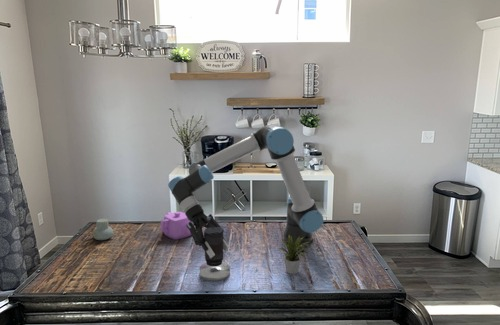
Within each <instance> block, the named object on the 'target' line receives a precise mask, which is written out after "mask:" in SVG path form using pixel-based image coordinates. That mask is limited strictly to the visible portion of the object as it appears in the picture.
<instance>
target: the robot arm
mask: <svg viewBox="0 0 500 325" xmlns="http://www.w3.org/2000/svg"><path fill="white" fill-rule="evenodd" d="M294 143H295V142H294V136H293V134H292V133H291V131H290V130H289V129H287V128H286V127H283V126H280V125H278V124H275V123H274V124H273V123H271V124H270V123H269V124H266V125H264V126H262V127H261V128H258V129H257V130H255V131H253V132H251V133H250V135H249V136H248V137H246V138H244V139H242V140H239V141H238V142H236V143H233V144H231V145H230V146H227V147H226V148H224V149H221V150H220V151H218V152H215V153H214V154H211V155H210V156H208V157H206V158H204V159H202V160H200V161H195V162H192V163H191V164H190V165H189V166H188V173H189V174H188V175H187V176H185V177H183V176H182V175H181V176H180V175H179V176H175V177H173V178H172V179H170V181H168V188H169V190H170V192H171V194H172V196H173V197H174V198H175V201H176V202H177V203H178V205H179V206H180V208H181V210H182V211H183V213H185V215H186V216H187V218H188V220H190V221H191V222H189V223H188V224H187V228H188V229H189V230H190V233H191V237H192V240H193V242H194V244H195V246H199V247H201V248H202V249H203V251H204V252H205V251H206V252H207V254H208V255H209V257H210V258H212V257H213V256H214V255H215V254H214V252H213V251H212V249H211V247H210V246H209V244H208V243H207V241H206V242H205V240H204V231H203V228H205V229H207V228H209V227H220V228H222V226H220V224H219V223H218V222H217V220H216V219H215V218H214V216H213V215H212V214H211V213H209V214H205V212H204V209H203V207H202V206H201V204H199V203H200V202H199V201H198V200H197V198H196V197H195V194H193V193H195V191H197V190H199V189H201V188H202V187H203V186H205V185H206V184H208V183H210V182H211V181H212V180H213V179H214V174H213V173H214V172H216V171H218V170H220V169H223V168H224V167H226V166H228V165H230V164H232V163H235V162H236V161H238V160H240V159H242V158H244V157H246V156H248V155H250V154H253V153H254V152H256V151H257V152H261V151H263V150H266V149H267V151H268V153H269V156H270V158H271V160H273V161H275V163H276V165H277V168H278V169H279V170H278V171H279V173H280V175H281V177H282V181H283V182H284V185H285V188H286V190H287V193H288V195H289V197H288V198H287V201H286V206H287V207H286V208H287V209H286V225H285V228H284V231H283V235H282V239H283V240H284V241H285V242H286V241H287V242H286V243H289V240H288V236H289V235H290V237H291V236H292V239H293V245H294V243H295V242H296V240H297V239H298V237H299V236H300V237H299V239H301V238H302V237H303V239H302V240H301V242H300V244H299V245H301V244H303V243H305V244H307V243H306V242H310V243H311V242H312V240H313V234H312V233H315V232H318V231H319V230H320V229H321V228H322V226H323V224H324V215H323V214H322V213H321V212H320V211H319V210H318V207H317V204H316V201H315V200H314V199H313V198H311V197H310V195H309V192H308V189H307V187H306V184H305V182H304V179H303V176H302V174H301V171H300V168H299V166H298V163H297V161H296V158H295V155H294V153H295V152H296V148H295V146H294ZM222 230H223V233H225V230H224V229H223V228H222ZM298 241H299V240H298ZM228 249H230V246H229V245H228V244H227V242H226V239H225V237H224V236H223V252H225V251H227V250H228Z"/></svg>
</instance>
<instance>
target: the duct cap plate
mask: <svg viewBox="0 0 500 325" xmlns="http://www.w3.org/2000/svg"><path fill="white" fill-rule="evenodd" d="M230 275H231V266H230V265H229V264H228V263H227V262H224V261H222V264H221V265H219V266H209V265H207V263H206V262H204V263H203V264H201V265H200V266H199V277H200V279H201V280H203V281H205V282H208V283H219V282H224V281H226V280H227V279H229V277H230Z"/></svg>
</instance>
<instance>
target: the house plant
mask: <svg viewBox="0 0 500 325" xmlns="http://www.w3.org/2000/svg"><path fill="white" fill-rule="evenodd" d="M299 237H300V236H299ZM299 237H298V239H297V240H296V242H295V243H294V244H293V239H292V236H291V237H290V235H289V236H288V240H289V242H287V241H285V240H284V239H283V238H281V241H283V243H282V246H284V247H279V248H278V249H279V250H281V251H284V252H285V253H284V264H285V270H286V273H288V274H289V275H296V274H297V273H298V272H299V269H300V264H301V260H302V259H301V257H302V258H303V259H304V254H303V253H307V251H306V250H307V248H304V246H308V245H309V246H310V244H309V243H311V242H306V244H305V243H303V244H300V242H301V240H302V239H303V237H302V238H301V239H299ZM298 240H299V241H298ZM300 256H301V257H300Z"/></svg>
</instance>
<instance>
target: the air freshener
mask: <svg viewBox="0 0 500 325" xmlns="http://www.w3.org/2000/svg"><path fill="white" fill-rule="evenodd" d="M95 223H96V224H95V225H96V228H94V229H93V230H92V235H93V237H94V239H95V240H98V241H106V240H108V239H111V238H112V237H113V236H114V235H115V234H114V230H113V228H112V227H111V226H109V219H107V218H100V219H97V220H96V221H95Z"/></svg>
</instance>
